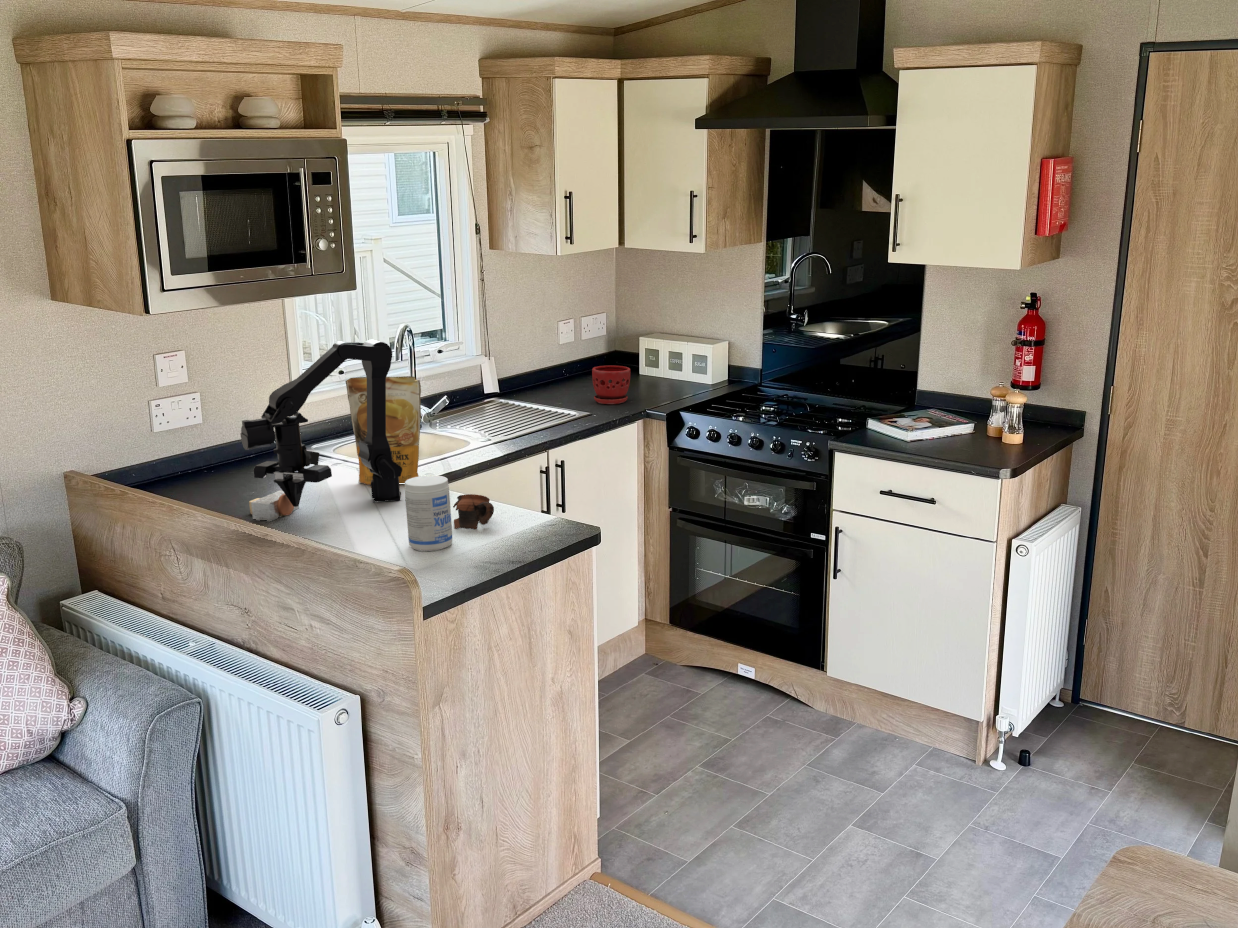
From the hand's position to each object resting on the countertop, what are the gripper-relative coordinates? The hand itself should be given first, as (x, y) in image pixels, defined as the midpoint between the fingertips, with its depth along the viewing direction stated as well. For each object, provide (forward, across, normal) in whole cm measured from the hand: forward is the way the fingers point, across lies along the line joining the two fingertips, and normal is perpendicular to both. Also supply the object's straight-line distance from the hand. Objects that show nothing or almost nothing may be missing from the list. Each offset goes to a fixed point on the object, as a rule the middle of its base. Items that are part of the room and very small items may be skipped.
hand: (296, 506), depth 273 cm
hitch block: (+2, +6, 0) cm, 6 cm away
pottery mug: (+3, -45, -6) cm, 46 cm away
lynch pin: (+2, +7, 0) cm, 8 cm away
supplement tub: (+3, -43, +10) cm, 44 cm away
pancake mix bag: (+3, -5, -33) cm, 33 cm away
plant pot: (+3, -24, -143) cm, 145 cm away
